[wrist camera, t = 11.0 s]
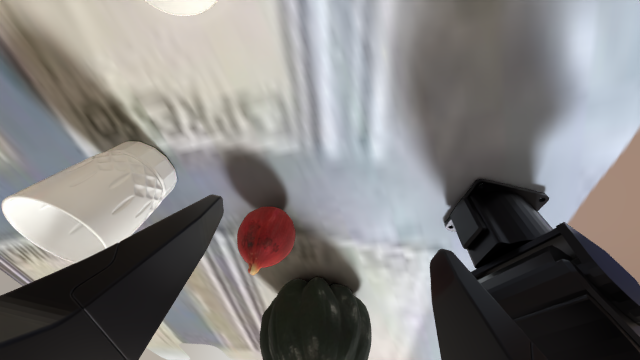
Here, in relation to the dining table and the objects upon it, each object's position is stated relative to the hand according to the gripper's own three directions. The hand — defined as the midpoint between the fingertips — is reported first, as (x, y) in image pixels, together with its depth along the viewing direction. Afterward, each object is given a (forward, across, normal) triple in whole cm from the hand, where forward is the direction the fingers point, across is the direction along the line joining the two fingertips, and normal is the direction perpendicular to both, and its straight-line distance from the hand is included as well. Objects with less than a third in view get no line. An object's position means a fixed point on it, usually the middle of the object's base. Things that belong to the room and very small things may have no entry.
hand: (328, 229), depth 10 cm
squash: (+13, -3, +28) cm, 31 cm away
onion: (+13, +5, +13) cm, 19 cm away
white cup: (+13, +20, +11) cm, 26 cm away
